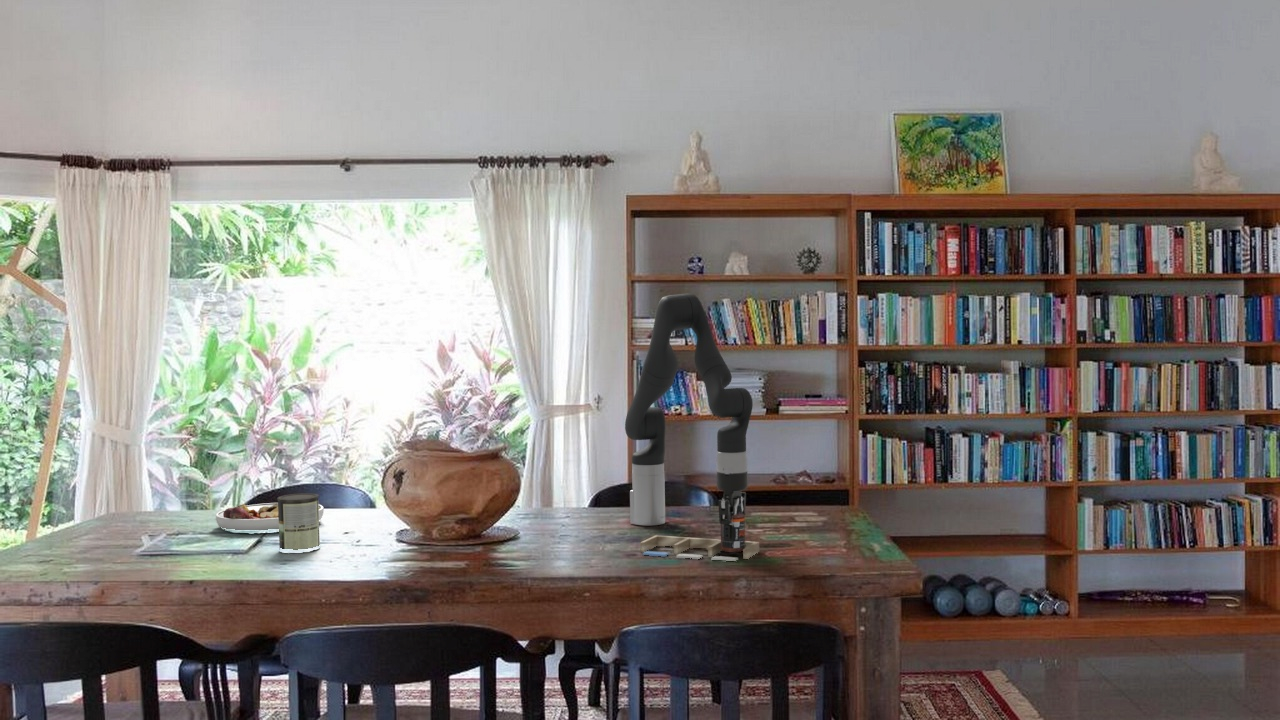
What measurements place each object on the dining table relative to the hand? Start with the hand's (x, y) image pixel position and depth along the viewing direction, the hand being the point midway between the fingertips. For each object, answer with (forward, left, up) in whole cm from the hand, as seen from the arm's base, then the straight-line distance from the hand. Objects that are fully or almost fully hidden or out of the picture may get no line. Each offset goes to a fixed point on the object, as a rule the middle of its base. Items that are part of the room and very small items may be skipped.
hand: (732, 537), depth 266 cm
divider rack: (-9, 0, -4) cm, 10 cm away
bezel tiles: (-9, -7, -4) cm, 12 cm away
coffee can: (-109, -30, -4) cm, 113 cm away
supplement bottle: (0, 0, -3) cm, 3 cm away
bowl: (-142, -5, -5) cm, 142 cm away
